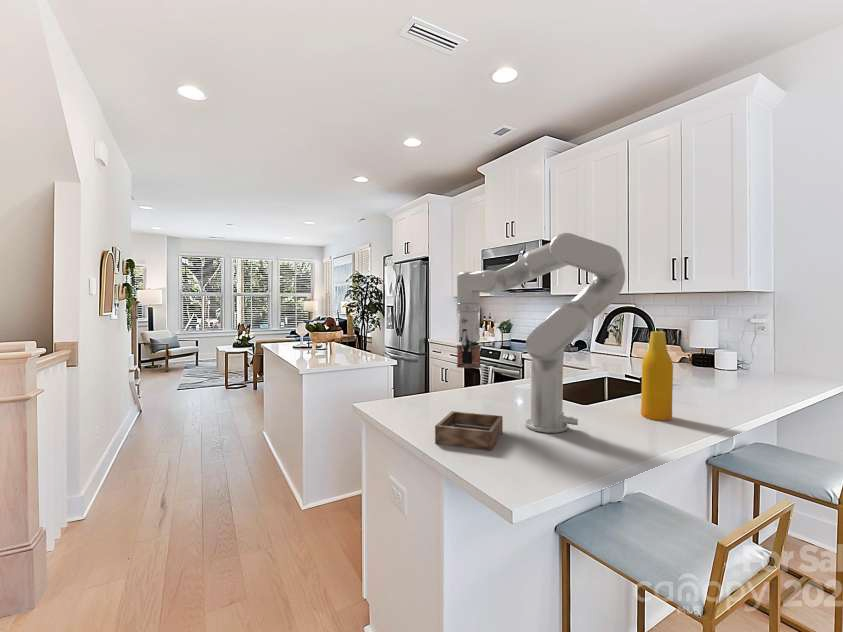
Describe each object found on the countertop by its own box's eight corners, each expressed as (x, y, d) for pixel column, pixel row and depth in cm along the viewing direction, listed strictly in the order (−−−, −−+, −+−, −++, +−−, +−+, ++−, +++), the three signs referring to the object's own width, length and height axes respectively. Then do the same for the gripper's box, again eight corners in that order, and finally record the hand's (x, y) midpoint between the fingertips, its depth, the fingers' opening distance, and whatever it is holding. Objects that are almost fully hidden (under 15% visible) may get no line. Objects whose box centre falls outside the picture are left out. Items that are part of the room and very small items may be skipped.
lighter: (480, 366, 142) (480, 337, 142) (480, 368, 139) (480, 338, 139) (457, 366, 143) (456, 337, 143) (456, 367, 140) (456, 338, 140)
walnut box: (502, 432, 126) (502, 416, 126) (491, 450, 111) (491, 432, 111) (451, 426, 132) (451, 411, 131) (435, 443, 117) (435, 425, 116)
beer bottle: (678, 421, 136) (680, 333, 135) (649, 421, 136) (650, 333, 135) (662, 413, 145) (664, 330, 144) (635, 413, 146) (637, 330, 144)
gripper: (473, 309, 131) (473, 366, 132) (485, 307, 147) (485, 359, 147) (450, 309, 134) (451, 365, 135) (464, 308, 150) (465, 358, 150)
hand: (469, 361), depth 141 cm, fingers closed on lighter, 3 cm apart
